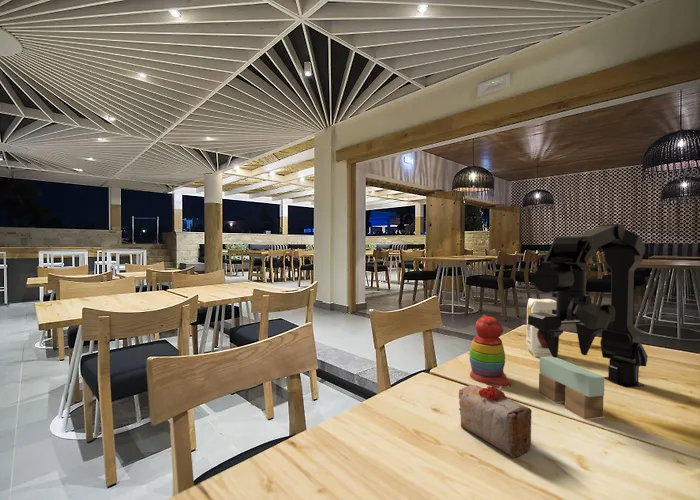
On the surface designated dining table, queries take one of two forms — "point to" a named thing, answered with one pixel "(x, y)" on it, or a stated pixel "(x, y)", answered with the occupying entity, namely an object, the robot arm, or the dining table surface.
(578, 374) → the beam
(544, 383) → the pillar
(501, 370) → the stacking bear
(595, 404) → the pillar
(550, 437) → the dining table surface
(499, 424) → the food item
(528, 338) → the juice carton
